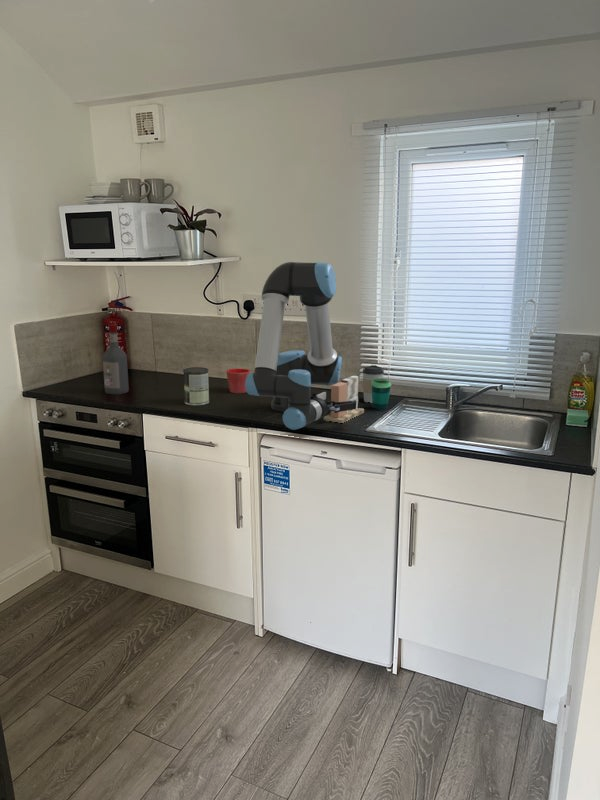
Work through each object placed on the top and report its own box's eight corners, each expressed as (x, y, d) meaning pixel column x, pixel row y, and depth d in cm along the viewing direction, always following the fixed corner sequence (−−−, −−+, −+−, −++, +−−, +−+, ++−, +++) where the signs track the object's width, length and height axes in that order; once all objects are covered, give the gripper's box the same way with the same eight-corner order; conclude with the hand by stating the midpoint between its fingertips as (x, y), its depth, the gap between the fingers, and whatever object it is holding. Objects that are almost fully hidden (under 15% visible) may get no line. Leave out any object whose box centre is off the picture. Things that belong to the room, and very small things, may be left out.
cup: (390, 406, 255) (392, 378, 252) (389, 411, 247) (390, 382, 244) (371, 405, 257) (372, 377, 254) (369, 410, 249) (370, 381, 246)
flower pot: (247, 388, 285) (246, 367, 283) (252, 393, 275) (252, 372, 273) (224, 389, 282) (224, 368, 280) (229, 395, 272) (229, 373, 269)
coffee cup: (381, 404, 259) (383, 369, 255) (360, 402, 261) (361, 368, 257) (383, 399, 267) (384, 365, 264) (362, 397, 269) (363, 364, 266)
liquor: (117, 395, 269) (112, 326, 261) (101, 392, 273) (97, 325, 266) (131, 391, 276) (128, 324, 269) (116, 388, 281) (112, 323, 273)
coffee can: (179, 403, 256) (178, 370, 253) (194, 398, 265) (193, 366, 262) (199, 406, 252) (198, 372, 248) (214, 401, 261) (213, 368, 257)
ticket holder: (342, 423, 230) (343, 385, 226) (323, 420, 233) (324, 383, 230) (363, 412, 245) (365, 377, 242) (345, 409, 249) (347, 374, 246)
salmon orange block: (338, 417, 231) (339, 386, 228) (330, 416, 233) (331, 385, 230) (346, 413, 237) (347, 383, 234) (339, 412, 239) (339, 382, 236)
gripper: (283, 415, 224) (312, 402, 241) (344, 425, 211) (370, 412, 229) (283, 395, 222) (312, 384, 239) (345, 404, 209) (371, 392, 227)
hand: (340, 397), depth 234 cm, fingers open, 13 cm apart
